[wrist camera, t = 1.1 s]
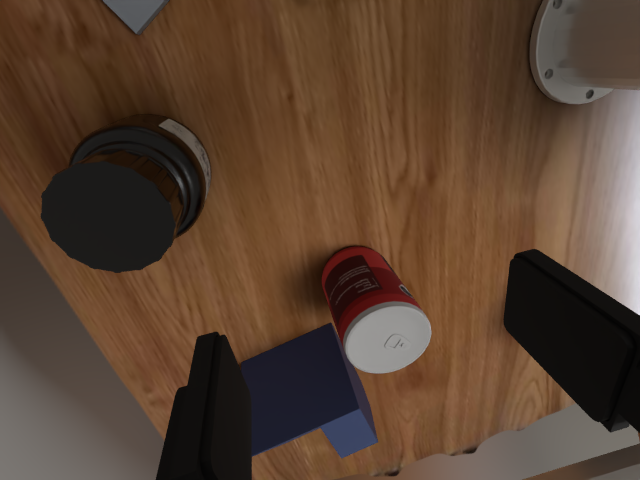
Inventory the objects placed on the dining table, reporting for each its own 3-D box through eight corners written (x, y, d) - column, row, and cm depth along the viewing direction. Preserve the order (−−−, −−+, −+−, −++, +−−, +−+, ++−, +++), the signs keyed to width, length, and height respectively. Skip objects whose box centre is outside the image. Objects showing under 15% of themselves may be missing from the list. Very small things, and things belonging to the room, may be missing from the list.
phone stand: (282, 415, 47) (292, 514, 37) (241, 361, 41) (239, 461, 31) (360, 380, 47) (393, 470, 37) (330, 322, 41) (359, 408, 31)
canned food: (377, 302, 41) (416, 374, 32) (313, 299, 39) (335, 375, 30) (395, 247, 38) (445, 308, 29) (327, 240, 36) (356, 303, 26)
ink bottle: (216, 217, 33) (201, 288, 22) (115, 219, 31) (48, 297, 20) (206, 109, 28) (183, 134, 18) (89, 104, 27) (-14, 129, 16)
